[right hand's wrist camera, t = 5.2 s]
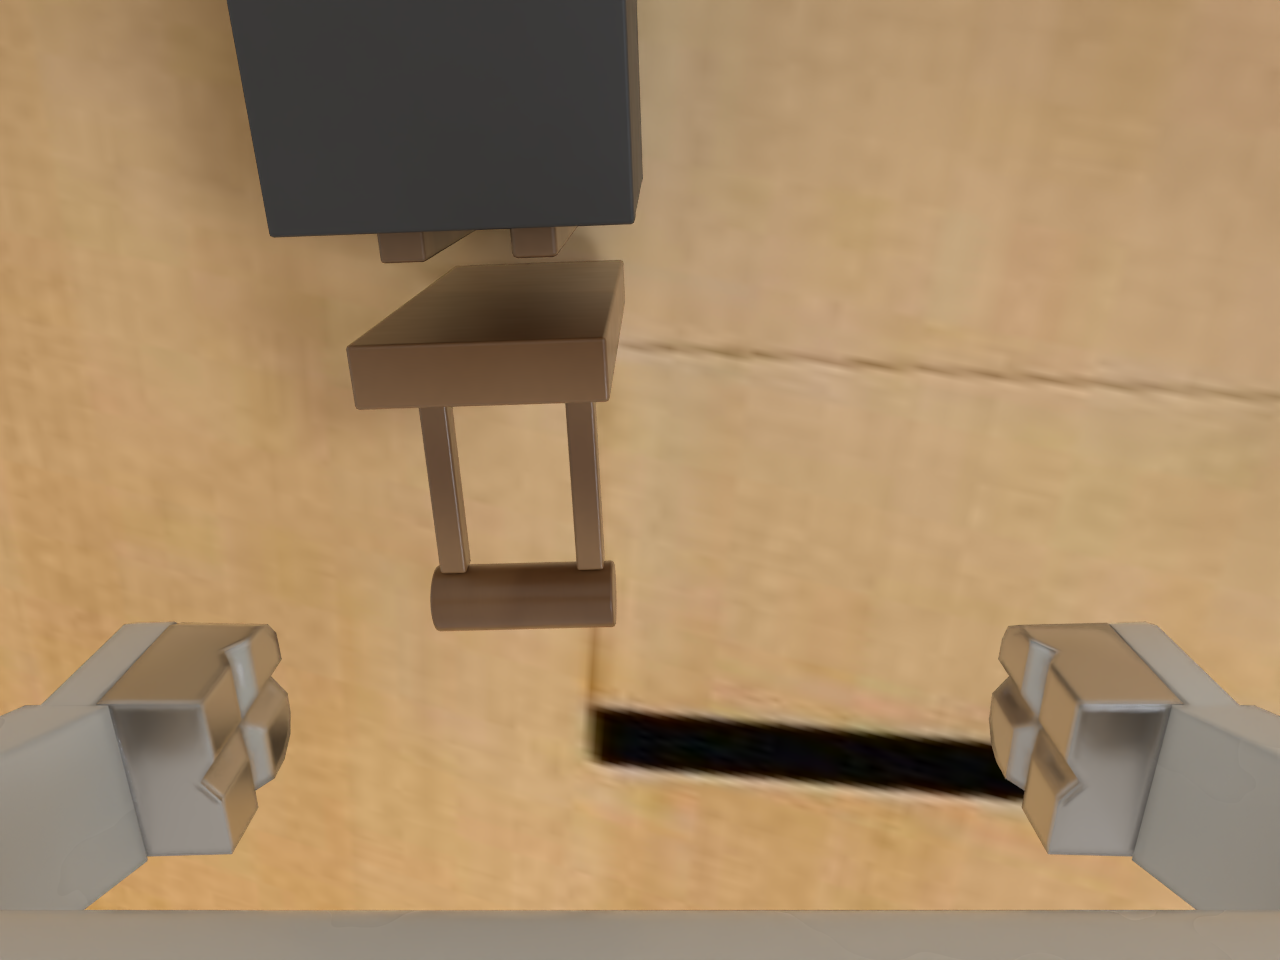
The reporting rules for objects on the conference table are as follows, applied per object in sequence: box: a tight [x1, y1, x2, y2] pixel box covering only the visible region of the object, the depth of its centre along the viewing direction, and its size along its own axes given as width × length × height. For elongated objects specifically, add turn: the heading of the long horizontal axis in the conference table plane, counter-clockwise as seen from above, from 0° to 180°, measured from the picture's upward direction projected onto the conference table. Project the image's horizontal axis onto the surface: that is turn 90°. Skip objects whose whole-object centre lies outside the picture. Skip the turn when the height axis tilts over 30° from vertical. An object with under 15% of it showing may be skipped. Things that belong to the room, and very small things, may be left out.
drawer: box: [346, 226, 625, 631], centre depth 19 cm, size 25×5×10 cm, turn 2°
